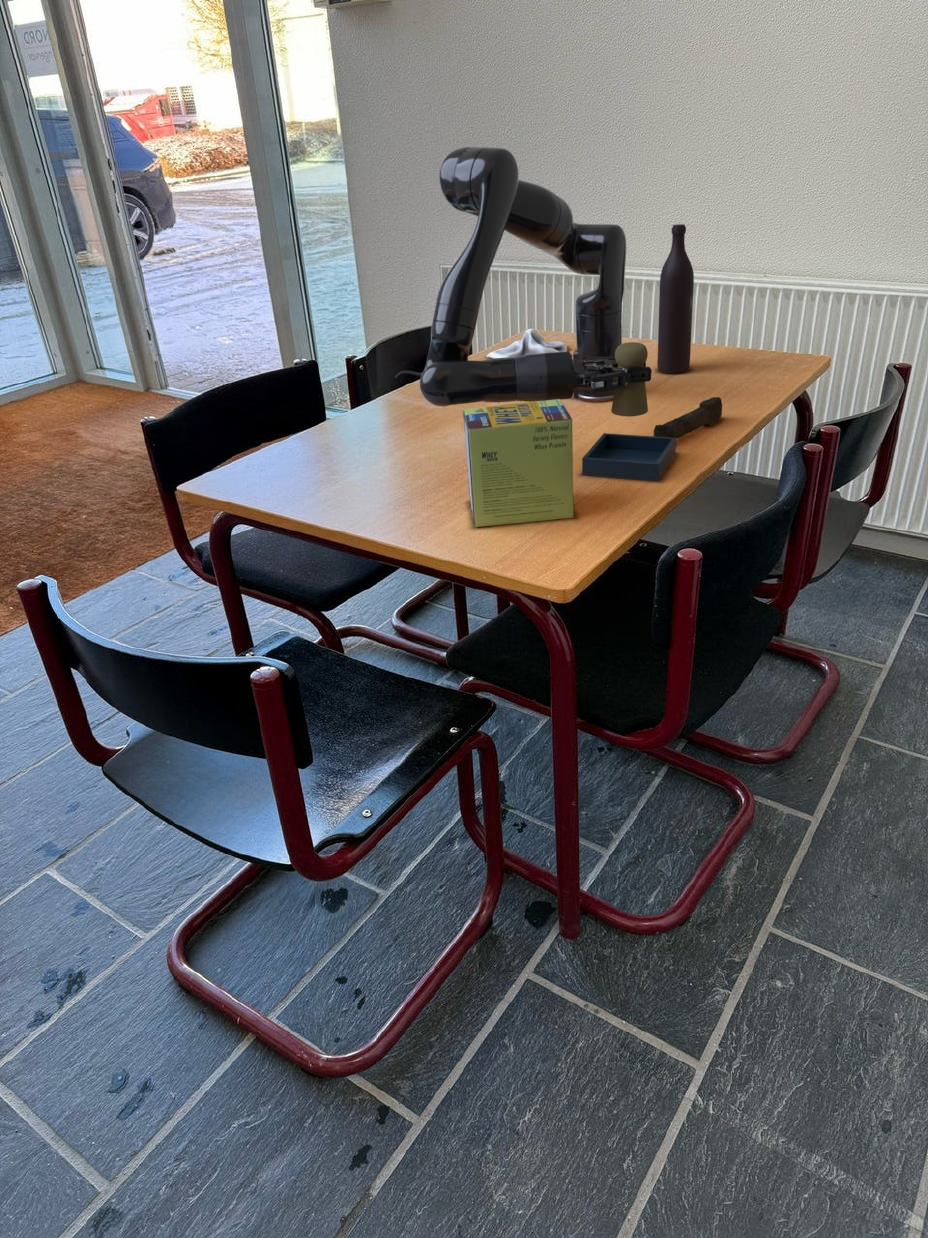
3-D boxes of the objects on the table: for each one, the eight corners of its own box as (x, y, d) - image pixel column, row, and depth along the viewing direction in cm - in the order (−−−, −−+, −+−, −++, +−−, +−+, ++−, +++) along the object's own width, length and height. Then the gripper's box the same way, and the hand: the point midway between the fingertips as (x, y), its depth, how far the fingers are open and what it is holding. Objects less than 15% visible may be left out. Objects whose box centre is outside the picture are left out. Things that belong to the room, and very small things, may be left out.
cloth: (479, 363, 220) (477, 337, 217) (506, 344, 235) (505, 319, 232) (566, 366, 212) (566, 339, 209) (589, 346, 226) (589, 321, 223)
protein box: (575, 518, 138) (573, 418, 130) (474, 528, 137) (466, 429, 129) (563, 492, 147) (561, 397, 139) (468, 501, 146) (461, 407, 138)
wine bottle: (692, 373, 199) (699, 225, 184) (660, 375, 200) (664, 228, 185) (686, 364, 205) (692, 221, 190) (654, 366, 206) (658, 224, 191)
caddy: (582, 475, 152) (582, 458, 151) (603, 449, 163) (603, 432, 161) (658, 481, 148) (659, 464, 146) (675, 454, 158) (676, 437, 156)
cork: (639, 418, 147) (641, 349, 142) (605, 414, 150) (606, 346, 144) (653, 407, 151) (656, 340, 146) (620, 403, 154) (621, 337, 149)
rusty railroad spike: (670, 448, 160) (671, 423, 158) (652, 444, 163) (653, 418, 160) (733, 421, 170) (735, 396, 168) (715, 417, 173) (717, 393, 171)
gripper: (546, 365, 140) (658, 357, 139) (538, 343, 152) (640, 336, 152) (547, 412, 143) (656, 405, 143) (539, 387, 156) (639, 380, 155)
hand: (647, 369), depth 147 cm, fingers closed on cork, 4 cm apart
